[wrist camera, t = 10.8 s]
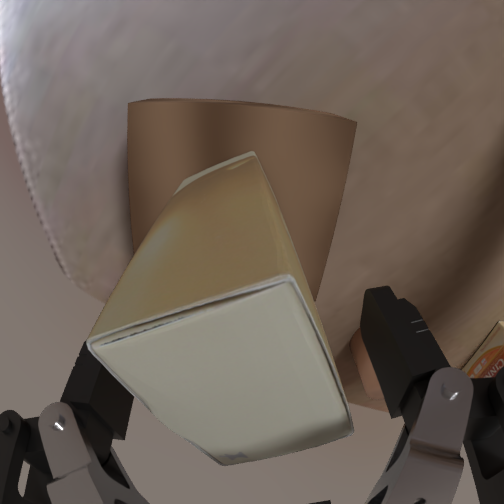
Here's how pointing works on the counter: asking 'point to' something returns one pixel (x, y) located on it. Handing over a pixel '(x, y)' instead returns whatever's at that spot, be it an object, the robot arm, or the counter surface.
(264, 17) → the counter surface
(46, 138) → the counter surface
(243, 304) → the skincare box
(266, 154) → the walnut block
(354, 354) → the pink rounded knob
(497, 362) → the coffeecake box
